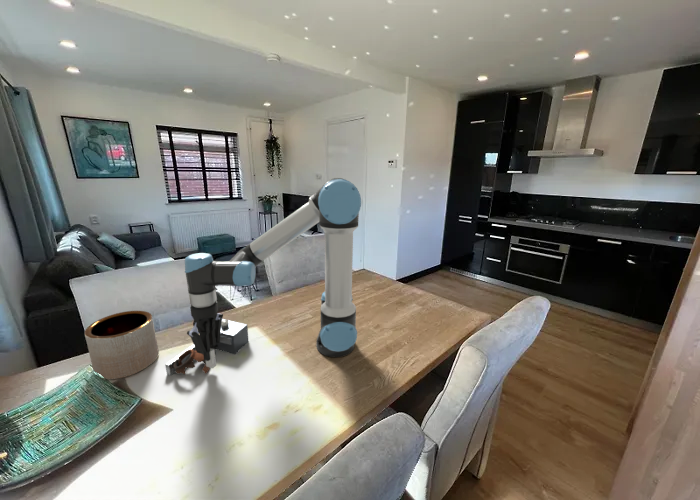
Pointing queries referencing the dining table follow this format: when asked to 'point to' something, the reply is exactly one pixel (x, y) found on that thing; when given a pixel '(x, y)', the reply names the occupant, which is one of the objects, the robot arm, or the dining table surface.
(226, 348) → the motor bracket
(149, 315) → the planter
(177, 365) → the brown curved piece
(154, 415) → the dining table surface
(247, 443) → the dining table surface
